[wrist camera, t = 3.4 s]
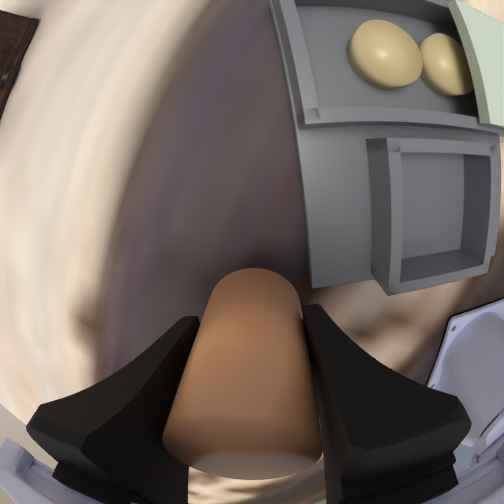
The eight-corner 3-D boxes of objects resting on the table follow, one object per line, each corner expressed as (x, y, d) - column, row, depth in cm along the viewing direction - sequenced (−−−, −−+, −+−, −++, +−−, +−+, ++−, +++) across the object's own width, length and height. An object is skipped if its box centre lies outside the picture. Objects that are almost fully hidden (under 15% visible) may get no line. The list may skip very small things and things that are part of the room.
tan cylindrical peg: (302, 338, 12) (319, 475, 6) (220, 346, 13) (191, 476, 6) (296, 262, 11) (327, 409, 4) (200, 273, 11) (135, 410, 5)
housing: (486, 250, 14) (515, 269, 11) (310, 280, 15) (320, 314, 12) (467, 33, 8) (496, 22, 5) (268, 6, 10) (268, -27, 6)
